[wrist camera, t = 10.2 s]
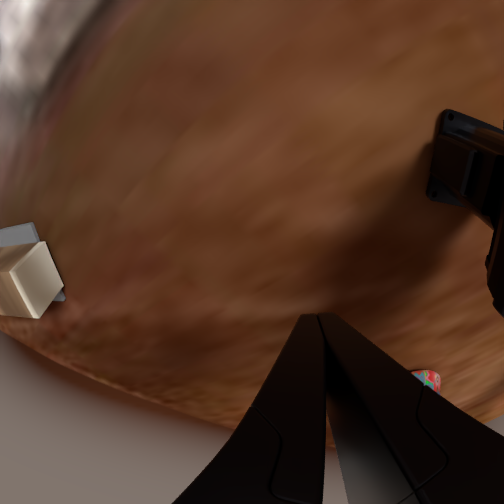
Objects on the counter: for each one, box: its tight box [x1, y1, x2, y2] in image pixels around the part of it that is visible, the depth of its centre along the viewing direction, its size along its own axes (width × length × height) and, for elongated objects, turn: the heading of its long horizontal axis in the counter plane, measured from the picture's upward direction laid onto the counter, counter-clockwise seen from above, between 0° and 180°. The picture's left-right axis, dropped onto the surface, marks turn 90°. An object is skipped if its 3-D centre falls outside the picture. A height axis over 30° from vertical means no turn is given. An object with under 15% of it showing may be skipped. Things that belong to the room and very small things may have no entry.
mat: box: [0, 222, 66, 301], centre depth 23 cm, size 11×8×1 cm
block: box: [0, 241, 64, 318], centre depth 21 cm, size 4×4×10 cm
